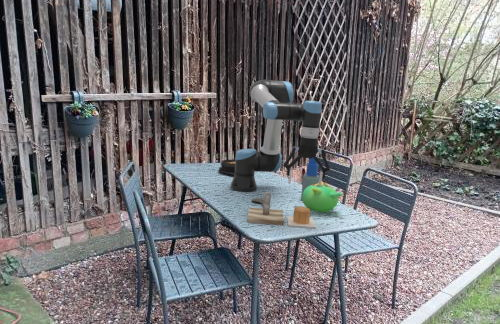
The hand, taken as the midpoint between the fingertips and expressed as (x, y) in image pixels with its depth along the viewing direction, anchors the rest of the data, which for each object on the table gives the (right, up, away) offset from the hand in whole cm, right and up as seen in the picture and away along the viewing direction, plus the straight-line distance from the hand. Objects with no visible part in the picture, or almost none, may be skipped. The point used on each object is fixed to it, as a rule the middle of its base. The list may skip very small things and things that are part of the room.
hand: (304, 184), depth 170 cm
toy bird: (+10, -15, +23) cm, 29 cm away
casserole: (-37, +2, +95) cm, 101 cm away
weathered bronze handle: (-18, -13, +25) cm, 33 cm away
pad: (-1, -18, +3) cm, 18 cm away
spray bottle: (+8, -12, +40) cm, 43 cm away
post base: (-17, -16, +6) cm, 24 cm away
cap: (-1, -17, +3) cm, 17 cm away
